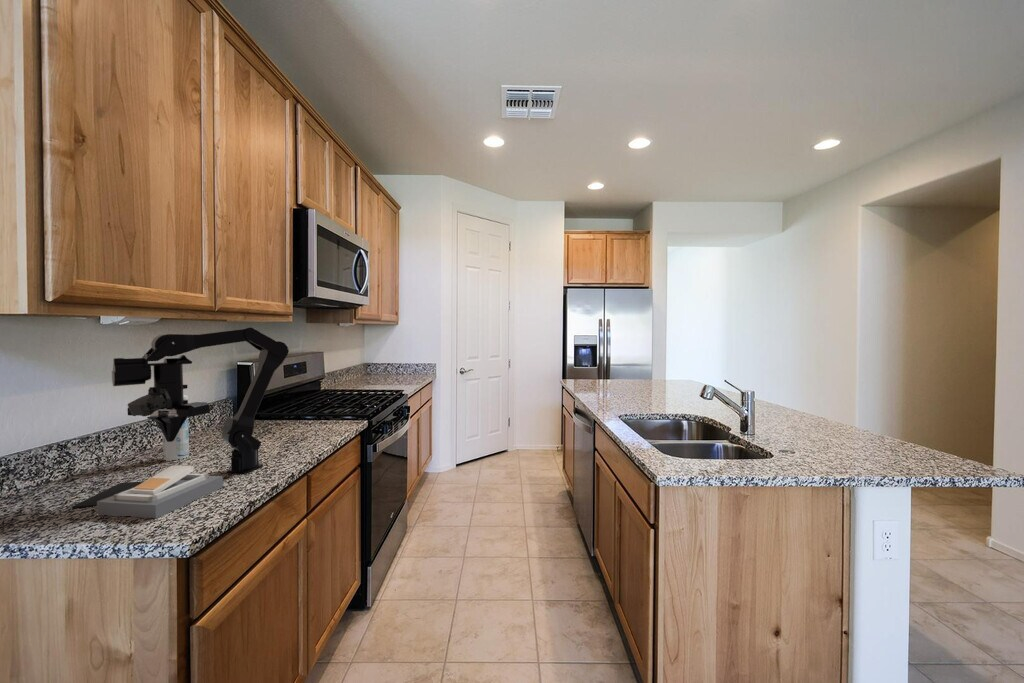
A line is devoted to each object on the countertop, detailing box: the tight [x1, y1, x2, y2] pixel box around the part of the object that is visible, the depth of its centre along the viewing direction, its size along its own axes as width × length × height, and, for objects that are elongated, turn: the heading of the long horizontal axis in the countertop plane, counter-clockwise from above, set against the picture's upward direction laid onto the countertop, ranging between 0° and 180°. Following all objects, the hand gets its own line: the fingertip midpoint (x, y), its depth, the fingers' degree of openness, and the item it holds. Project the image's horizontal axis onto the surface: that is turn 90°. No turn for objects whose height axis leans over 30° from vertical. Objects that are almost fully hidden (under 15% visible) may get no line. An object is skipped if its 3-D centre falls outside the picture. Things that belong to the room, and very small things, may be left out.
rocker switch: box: [131, 464, 195, 495], centre depth 95 cm, size 10×6×1 cm, turn 173°
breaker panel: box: [96, 472, 224, 520], centre depth 95 cm, size 17×15×4 cm
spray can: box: [161, 394, 190, 462], centre depth 126 cm, size 6×6×20 cm
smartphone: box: [71, 480, 146, 510], centre depth 98 cm, size 7×1×15 cm
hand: (170, 441), depth 103 cm, fingers closed
